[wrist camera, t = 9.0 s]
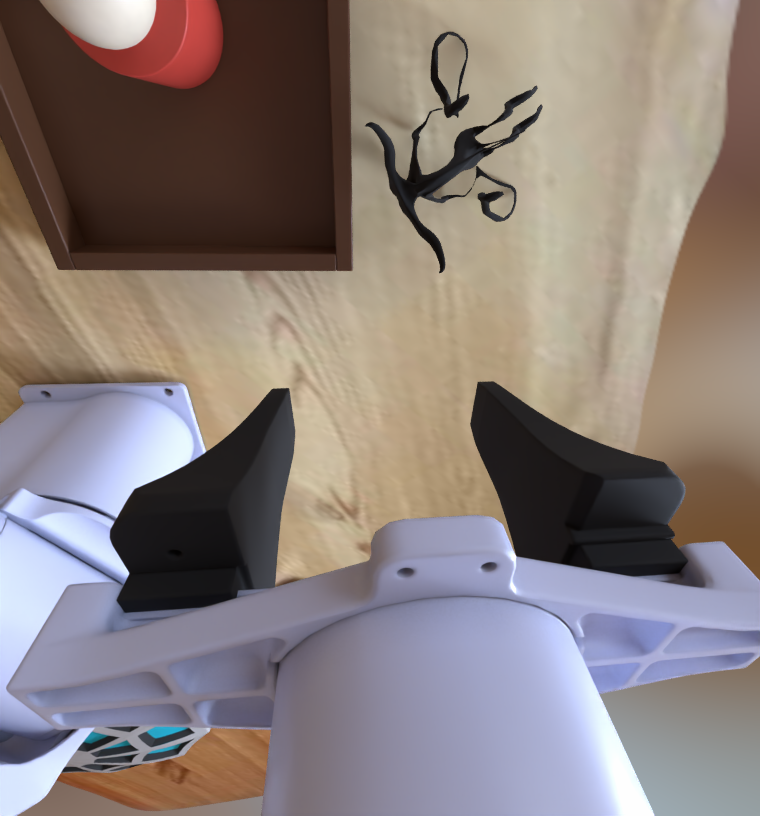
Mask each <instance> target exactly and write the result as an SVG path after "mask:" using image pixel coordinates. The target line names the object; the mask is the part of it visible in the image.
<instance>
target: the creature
mask: <svg viewBox="0 0 760 816" xmlns="http://www.w3.org/2000/svg"><path fill="white" fill-rule="evenodd" d="M448 34H449V35H453V36H457V37H458V38H459V39H460V40H461V41H462V42H463V43H464V45H465V49H466V60H465V63H464V66H463V68H462V71H461V74H460V79H459V86H458V94H457V100H456V101H455V102H453V103H452V104H451V99H450V96H449V94H448V92H447V90H446V88H445V87H444V85H443V84H442V83H441V81H440V79H439V78H438V46H439V44H440V43H441V42H442V41H443V40H444V39H445V37H446V36H447V35H448ZM467 58H468V48H467V44H466V42H465V40H464V39H463V38H462V37H460V36H459V35H458V34H456V33H454V32H446V33H444V34H441V35H440V36H439V37H438V38H437V40H436V41H435V43H434V47H433V50H432V59H431V81H432V83H433V86H434V88H435V90H436V92H437V93H438V95H439V96H440V98H441V101H442V102H443V104H444V113H445V115H446V117H447V118H449V117H451V116H452V115H455V116H457V118H458V116H459V115H458V112H459V111H460V110H462V109H463V108H464V106H465V105H466V104H467V102H468V100H469V94H467V95H464V96H462V97H460V98H459V94H460V87H461V83H462V79H463V75H464V71H465V67H466V63H467ZM536 90H537V86H535V87H534V88H533V89H532V90H529V91H526V92H524V93H523V94H520V95H518V96H516V97H514V98H512V99H510V100H509V101H508V102H506V103H505V104H504V105H505V111H504V112H503V113H502V115H501V116H500V117H499V118H498V119H497V120H495V121H494V122H492V123H491V124H489V125H488V126H479V127H478V126H476V127H473V128H469V129H466V130H464V131H462V132H461V133H460V134H459V135H458V137H457V139H456V141H455V145H454V149H455V152H454V157H453V158H452V160H451V161H450V162H449V163H448V165H446V166H445V167H443V168H442V169H440V170H439V171H436V172H434V173H431V174H429V175H422V173H421V170H420V167H419V164H418V159H417V145H418V141H419V138H420V137H419V133H420V132H421V130H422V129H423V128H424V126H425V125H426V123H427V120H428V118H429V115H430V114H431V113H432V111H430V112H429V114H428V116H427V119H426V121H425V122H424V123H423V124H422V125H421V126H419V127H418V128H417V129H416V130H415V131H414V132H413V133H412V138H413V140H414V141H413V151H412V158H411V163H410V170H409V175H408V178H407V180H405V179H403V178H402V177H400V176H399V174H398V173H397V172H396V170H395V149H394V145H393V143H392V141H391V139H390V138H389V136H388V135H387V134H386V133H385V131H384V130H383V129H382V128H381V127H380V126H379V125H377V124H375V123H373V122H370V123H367V124H366V125H365V126H366V127H367V126H368V127H370V128H372V129H373V130H374V131H375V132H376V134H377V135H378V137H379V138H380V140H381V142H382V145H383V147H384V158H385V167H386V170H387V173H388V177H389V185H390V189H391V191H392V193H393V194H394V195H395V196H396V197H397V199H398V201H399V206H400V207H401V209H402V211H403V213H404V214H405V215H406V216H407V217H408V218H409V219H410V221H411V222H412V224H413V225H414V227H415V229H416V230H417V232H418V233H419V235H420V236H421V237H422V238H424V239H425V240H426V241H427V242H428V243H429V244H430V245H431V247H432V248H433V250H434V251H435V253H436V255H437V258H438V261H439V264H440V272H439V273H442V272H443V271H444V269H445V258H444V254H443V250H442V246H441V243H440V241H439V239H438V238H437V237H436V235H435V234H434V233H432V232H431V231H430V230H429V229H427V228H426V227H425V226H424V225H423V224H422V223H421V222H420V221H419V219H418V217H417V215H416V212H415V209H414V203H415V201H416V199H417V197H419V196H421V197H423V198H425V199H428V200H431V201H434V202H437V203H444V202H446V200H449V199H451V198H454V197H465V196H466V195H467V194H468V193H469V192H470V191H471V189H472V188H471V189H470V190H469V191H468V193H467V194H466V195H463V196H462V195H447V196H443V197H441V199H436V198H434V196H433V195H432V194H433V193H434V192H435V191H437V190H438V189H439V188H441V187H442V186H443V185H444V184H446V183H447V182H448V181H450V180H451V179H452V178H454V177H455V176H456V175H458V174H459V173H460V172H462V171H464V170H468V169H471V168H473V167H474V166H476V165H477V163H478V162H479V161H480V160H481V159H482V158H483V157H485V156H488V155H489V154H491V153H492V152H493V151H494V149H496V148H499V147H501V146H503V145H505V144H508V143H511V142H513V141H514V140H515V139H517V138H518V137H519V134H520V133H522V132H524V131H525V129H527V128H528V127H529V126H530V125H531V124H533V123H534V122H535V121H536V120H537V119H538V116H539V114H540V112H541V110H542V104H541V105H540V106H539V107H538V109H537V112H536V113H535V114H534V115H532V116H530V117H529V118H527V119H525V120H524V121H522V122H521V123H519V124H518V125H516V126H515V127H514V128H513V130H512V134H511V135H510V137H508V138H505V139H503V140H500V141H501V142H500V141H496V142H499V143H497V144H495V145H493V146H491V147H489V148H484V147H485V146H488V145H490V144H493V143H496V142H493V143H488V144H481V143H479V142H478V141H477V140H476V139H475V136H477V135H478V134H480V133H482V132H483V131H484V130H485V129H487V128H488V127H490V126H492V125H494V124H496V123H498V122H500V121H503V120H505V119H506V118H507V117H509V116H510V115H511V114H512V112H513V108H515V107H516V106H518V105H520V104H521V103H523V102H524V101H526V100H527V99H528V98H530V97H531V96H532V95H533V94H534V93H535V92H536ZM441 109H442V108H438V109H435V110H433V111H437V110H441ZM504 141H505V142H504ZM502 142H503V143H502ZM500 143H502V144H501V145H499V146H497V147H495V148H492V147H494V146H496V145H498V144H500ZM479 176H484V177H485V178H487V179H489V180H491V181H493V182H495V183H496V184H498V185H501V186H504V187H508V188H511V190H512V191H513V192H514V205H513V208H512V210H511V212H510V213H509V214H508V215H507V216H506V217H505V218H502V217H500V216H498V215H496V214H494V213H492V212H491V211H490V208H489V202H491V201H495V200H497V199H498V198H500V197H501V196H502V195H504V194H503V192H499V191H497V192H492V193H488V194H485V193H483V192H482V193H479V194H478V199H479V200H480V201H481V207H482V212H483V214H485V215H486V216H488V217H489V218H491V219H492V220H494V221H496V222H501V221H505V220H506V219H508V218H509V217H510V215H511V214H512V213H513V210H514V208H515V204H516V190H515V188H514V187H513V186H511V185H508V184H505V183H502V182H500V181H497V180H494V179H492V178H491V177H489V176H488V175H486V174H485V173H484V172H483V171H482V170H480V168H479V167H478V166H476V178H478V177H479ZM476 178H475V180H476ZM474 183H475V182H474ZM473 186H474V184H473Z"/></svg>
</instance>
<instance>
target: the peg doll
mask: <svg viewBox="0 0 760 816" xmlns="http://www.w3.org/2000/svg"><path fill="white" fill-rule="evenodd" d="M39 1H40V2H41V3H42V4H43V6H44V7H45V8H46V9H47V11H48V12H49V13H50V14H51V15H52V16H53V17H54V18H55V19H56V20H57V21H58V22H59V23H60V24H61V25H62V27H63V28H64V30H65V31H66V32H67V34H68V35H69V36H70V37H71V39H72V40H73V41H74V42H75V43H76V44H77V45H78V46H79V47H80V48H81V49H82V50H83V51H84V52H85V53H86V54H87V55H88V56H89V57H91V58H92V59H93V60H95V61H96V62H97V63H99V64H100V65H102V66H104V67H105V68H107V69H109V70H111V71H113V72H116V73H118V74H121V75H125V76H129V77H133V78H137V79H141V80H145V81H148V82H152V83H156V84H160V85H164V86H168V87H172V88H177V89H189V88H194V87H196V86H199V85H201V84H202V83H204V82H206V81H207V80H208V79H209V78H210V77H211V76H212V74H213V73H214V72H215V70H216V68H217V66H218V64H219V61H220V58H221V54H222V49H223V25H222V19H221V14H220V11H219V7H218V4H217V2H216V0H39Z"/></svg>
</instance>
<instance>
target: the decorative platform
mask: <svg viewBox="0 0 760 816" xmlns="http://www.w3.org/2000/svg"><path fill="white" fill-rule="evenodd" d="M209 731H210V728H193V727H149V726H126V727H96V728H94V730H93V731H92V732H91V733H90V734H89V735H88V737H87V738H86V739H85V740H84V742H83V743H82V744H81V745H80V747H79V748H78V749H77V751H76V752H75V753H74V755H73V756H72V757H71V759H70V760H69V761H68V763H67V764H66V766H65V767H64V769H63V770H62V772H61V773H70V772H100V773H110V772H116V771H120V770H124V769H127V768H131V767H134V766H138V765H141V764H146V763H152V762H158V761H163V760H167V759H171V758H175V757H179V756H183V755H185V754H186V752H187V751H188V749H189V748H190V747H191V746H192V745H193V744H194V743H195V742H196V741H197V740H199V739H200V738H201V737H203V736H204V735H205V734H207V733H208V732H209Z"/></svg>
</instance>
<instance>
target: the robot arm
mask: <svg viewBox="0 0 760 816" xmlns="http://www.w3.org/2000/svg"><path fill="white" fill-rule="evenodd" d="M166 388H167V389H170V390H172V392H169V391H167V390H166ZM45 391H47V392H48V393H49V394H47V393H46V392H45ZM18 393H19V395H20V397H21V399H22V400H23V402H24V404H23V405H22V406H21V407H19V408H18V409H17V410H16V411H15V412H14V413H13V414H11V415H10V416H9V417H8V418H7V419H6V420H4V421H3V422H2V423H1V424H0V816H17V815H18V814H20V813H21V812H23V811H25V810H27V809H28V808H30V807H31V806H33V805H35V804H36V803H38V802H39V801H40V800H42V799H43V798H44V797H45V796H46V795H47V794H48V792H49V791H50V789H51V787H52V786H53V784H54V783H55V781H56V780H57V778H58V776H59V775H60V773H61V772H62V770H63V769H64V767H65V766H66V764H67V763H68V761H69V760H70V759H71V757H72V756H73V755H74V753H75V752H76V751H77V749H78V748H79V747H80V745H81V744H82V743H83V742H84V740H85V739H86V738H87V737H88V735H89V734H90V733H91V732H92V731H93V730H94V728H96V727H126V726H149V727H193V728H227V729H260V730H271V736H270V744H269V753H268V762H267V770H266V779H265V787H264V796H263V805H262V813H261V816H655V815H654V813H653V811H652V809H651V807H650V804H649V802H648V800H647V798H646V796H645V793H644V791H643V789H642V787H641V785H640V782H639V780H638V778H637V776H636V774H635V772H634V769H633V767H632V765H631V763H630V761H629V759H628V756H627V754H626V752H625V750H624V748H623V745H622V743H621V741H620V739H619V737H618V734H617V732H616V730H615V728H614V726H613V724H612V721H611V719H610V717H609V715H608V713H607V710H606V708H605V706H604V704H603V702H602V699H601V697H600V695H599V694H602V693H606V692H611V691H615V690H620V689H625V688H629V687H634V686H639V685H643V684H648V683H652V682H657V681H662V680H666V679H672V678H677V677H682V676H687V675H693V674H700V673H706V672H713V671H721V670H729V669H739V668H745V667H747V666H748V665H749V664H751V663H752V662H753V661H754V660H755V659H757V658H758V657H759V656H760V581H759V580H758V579H757V577H756V576H755V575H754V574H753V573H752V572H751V571H750V570H749V569H748V568H747V567H746V566H745V564H743V562H742V561H741V560H740V559H739V558H738V557H737V556H736V555H735V554H734V553H733V552H732V550H731V549H730V548H729V547H728V546H727V545H726V544H725V543H724V542H707V543H691V544H686V545H684V546H682V547H680V548H679V549H678V548H677V546H676V545H675V544H674V543H673V541H672V540H671V539H673V538H674V536H675V534H674V532H673V531H672V529H671V528H670V527H669V526H668V525H667V524H668V523H669V521H670V520H671V518H672V517H673V515H674V514H675V512H676V511H677V509H678V508H679V506H680V505H681V502H682V501H683V499H684V496H685V486H684V484H683V482H682V481H681V479H680V478H679V477H678V476H677V475H676V474H675V473H674V472H673V471H672V470H671V469H670V468H669V467H668V466H667V465H666V464H665V463H664V462H661V461H657V460H653V459H649V458H645V457H641V456H638V455H634V454H630V453H627V452H624V451H621V450H618V449H615V448H612V447H609V446H606V445H603V444H601V443H598V442H596V441H593V440H591V439H589V438H586V437H584V436H581V435H579V434H577V433H575V432H573V431H571V430H569V429H567V428H565V427H563V426H561V425H559V424H557V423H555V422H554V421H552V420H550V419H549V418H547V417H545V416H544V415H542V414H540V413H539V412H537V411H536V410H534V409H533V408H531V407H530V406H528V405H527V404H525V403H524V402H522V401H521V400H520V399H518V398H517V397H515V396H514V395H513V394H511V393H510V392H508V391H507V390H506V389H504V388H503V387H501V386H500V385H498V384H497V383H495V382H478V384H477V389H476V395H475V401H474V406H473V412H472V417H471V423H470V425H471V429H472V433H473V437H474V440H475V443H476V446H477V449H478V451H479V453H480V456H481V458H482V460H483V462H484V465H485V467H486V469H487V471H488V473H489V476H490V478H491V480H492V482H493V484H494V487H495V489H496V491H497V494H498V496H499V499H500V502H501V505H502V508H503V511H504V514H505V517H506V521H507V524H508V527H509V531H510V534H511V538H512V541H513V545H514V549H515V553H516V556H515V554H514V551H513V549H512V546H511V544H510V541H509V539H508V537H507V534H506V532H505V529H504V527H503V524H501V523H500V522H499V521H497V520H496V519H495V518H493V517H488V516H480V515H466V516H449V517H432V518H414V519H402V520H398V521H394V522H389V523H388V524H386V525H385V526H383V527H382V528H381V529H379V530H378V531H376V532H375V534H374V537H373V539H372V542H371V556H370V560H369V561H366V562H362V563H359V564H355V565H352V566H348V567H345V568H341V569H338V570H334V571H331V572H327V573H324V574H320V575H316V576H313V577H309V578H306V579H302V580H299V581H295V582H292V583H288V584H285V585H281V586H278V587H275V579H276V565H277V553H278V541H279V531H280V521H281V511H282V505H283V500H284V495H285V491H286V486H287V482H288V477H289V473H290V468H291V463H292V459H293V454H294V442H295V426H294V419H293V412H292V405H291V398H290V391H289V388H280V389H272V390H271V391H270V392H269V393H268V394H267V395H266V397H265V398H264V399H263V400H262V401H261V402H260V404H259V405H258V406H257V407H256V408H255V409H254V410H253V412H252V413H251V414H250V415H249V416H248V417H247V418H246V419H245V420H244V421H243V422H242V423H241V424H240V425H239V426H238V427H237V428H236V429H235V430H234V431H233V432H232V433H231V434H229V435H228V436H227V437H226V438H225V439H223V440H222V441H221V442H219V443H218V444H217V445H216V446H214V447H213V448H211V449H210V450H208V451H207V452H206V451H205V447H204V444H203V441H202V437H201V434H200V431H199V427H198V424H197V421H196V417H195V414H194V411H193V407H192V404H191V401H190V397H189V394H188V391H187V388H186V386H185V385H184V384H182V383H180V382H149V383H96V384H43V385H24V386H23V387H22V388H20V389H19V391H18Z"/></svg>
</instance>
